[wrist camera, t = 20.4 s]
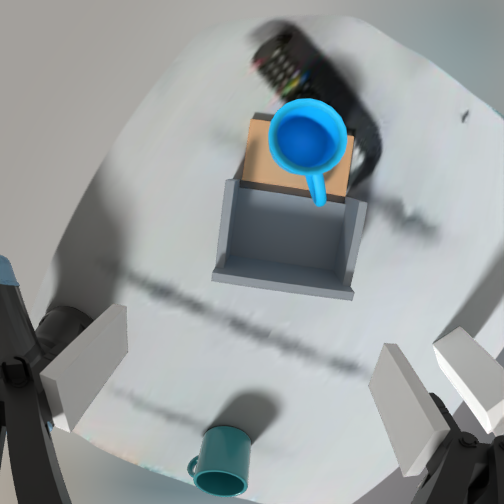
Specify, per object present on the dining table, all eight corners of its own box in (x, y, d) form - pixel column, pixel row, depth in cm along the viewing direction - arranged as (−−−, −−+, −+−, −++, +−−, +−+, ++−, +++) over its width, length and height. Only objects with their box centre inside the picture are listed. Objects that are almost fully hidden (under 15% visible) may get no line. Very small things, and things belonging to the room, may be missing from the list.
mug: (260, 120, 38) (258, 108, 30) (322, 106, 37) (335, 91, 29) (285, 211, 41) (289, 220, 33) (346, 196, 40) (364, 202, 32)
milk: (465, 349, 46) (530, 422, 25) (438, 366, 47) (496, 449, 26) (459, 324, 45) (533, 398, 23) (431, 343, 46) (497, 427, 24)
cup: (182, 432, 53) (168, 475, 42) (238, 419, 51) (231, 466, 40) (205, 459, 55) (196, 501, 44) (259, 448, 53) (256, 492, 42)
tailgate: (242, 180, 40) (250, 118, 38) (242, 179, 41) (251, 120, 39) (345, 196, 40) (354, 136, 38) (343, 195, 41) (351, 137, 39)
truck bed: (222, 259, 44) (211, 281, 35) (232, 178, 41) (223, 180, 32) (337, 275, 44) (352, 300, 35) (352, 197, 41) (373, 204, 32)
